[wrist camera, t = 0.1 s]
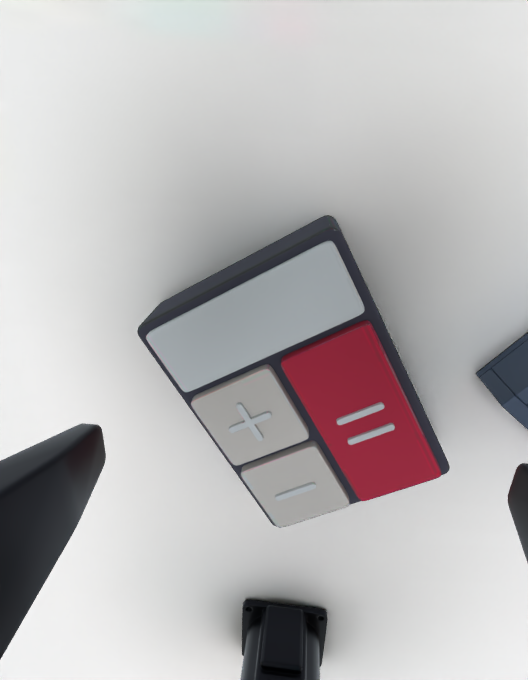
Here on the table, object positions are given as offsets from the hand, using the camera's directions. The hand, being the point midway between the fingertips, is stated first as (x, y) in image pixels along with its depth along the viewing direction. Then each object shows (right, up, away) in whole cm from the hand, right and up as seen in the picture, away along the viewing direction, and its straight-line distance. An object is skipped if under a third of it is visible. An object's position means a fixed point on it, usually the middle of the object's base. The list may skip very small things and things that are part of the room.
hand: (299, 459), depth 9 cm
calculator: (+1, +1, +16) cm, 16 cm away
